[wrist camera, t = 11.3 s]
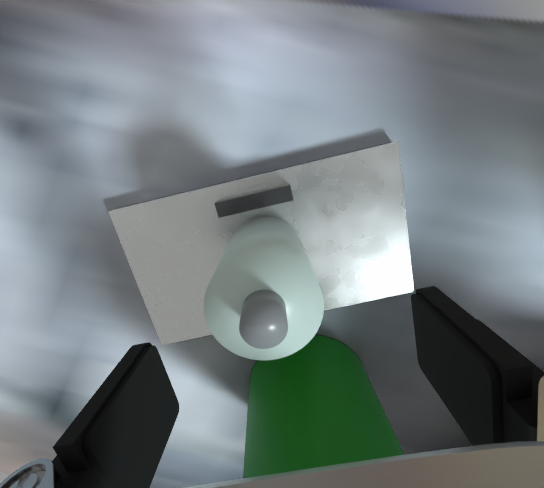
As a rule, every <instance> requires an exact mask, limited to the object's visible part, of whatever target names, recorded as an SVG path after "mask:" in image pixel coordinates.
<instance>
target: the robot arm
mask: <svg viewBox="0 0 544 488" xmlns="http://www.w3.org/2000/svg"><path fill="white" fill-rule="evenodd" d="M411 302H412V311H413V320H414V329H415V338H416V347H417V356H418V362H419V365H420V368H421V370H422V371H423V373H424V374H425V376H426V377H427V379H428V380H429V382H430V383H431V385H432V386H433V388H434V389H435V391H436V392H437V393H438V395H439V396H440V398H441V399H442V401H443V402H444V404H445V405H446V407H447V408H448V410H449V411H450V413H451V414H452V416H453V417H454V418H455V420H456V421H457V423H458V424H459V426H460V427H461V429H462V430H463V432H464V433H465V435H466V436H467V438H468V439H469V441H470V442H471V443H472V445H473V446H467V447H459V448H451V449H443V450H436V451H428V452H420V453H412V454H406V455H399V456H392V457H385V458H378V459H371V460H364V461H357V462H351V463H344V464H337V465H330V466H323V467H316V468H310V469H303V470H296V471H290V472H283V473H277V474H270V475H263V476H257V477H250V478H244V479H237V480H231V481H224V482H218V483H211V484H205V485H198V486H192V487H186V488H544V372H543V371H542V370H541V369H539V368H538V367H537V366H536V365H534V364H533V363H532V362H531V361H529V360H528V359H527V358H526V357H524V356H523V355H522V354H521V353H519V352H518V351H517V350H516V349H514V348H513V347H512V346H511V345H509V344H508V343H507V342H506V341H504V340H503V339H502V338H501V337H500V336H498V335H497V334H496V333H495V332H493V331H492V330H491V329H490V328H488V327H487V326H486V325H485V324H483V323H482V322H481V321H479V320H477V319H475V318H474V317H472V316H471V315H470V314H469V313H467V312H466V311H465V310H464V309H463V308H461V307H460V306H459V305H458V304H456V303H455V302H454V301H453V300H451V299H450V298H449V297H448V296H446V295H445V294H444V293H443V292H442V291H440V290H439V289H438V288H437V287H435V286H431V287H426V288H421V289H417V290H416V294H413V295H411ZM178 413H179V403H178V400H177V397H176V395H175V392H174V390H173V387H172V385H171V382H170V380H169V377H168V375H167V372H166V370H165V367H164V365H163V362H162V360H161V357H160V355H159V352H158V350H157V348H156V346H154V345H153V346H152V345H151V344H150V343H143V344H138V345H134V346H132V347H131V348H130V349H129V350H128V352H127V353H126V354H125V355H124V357H123V358H122V359H121V361H120V362H119V363H118V364H117V366H116V367H115V368H114V370H113V371H112V372H111V373H110V375H109V376H108V377H107V379H106V380H105V381H104V382H103V384H102V385H101V386H100V388H99V389H98V390H97V391H96V393H95V394H94V395H93V396H92V398H91V399H90V400H89V402H88V403H87V404H86V405H85V407H84V408H83V409H82V411H81V412H80V413H79V414H78V416H77V417H76V418H75V420H74V421H73V422H72V423H71V425H70V426H69V427H68V429H67V430H66V431H65V432H64V434H63V435H62V436H61V437H60V439H59V440H58V441H57V443H56V444H55V445H54V446H53V448H54V450H55V452H56V454H57V456H56V457H55V458H54V460H53V461H52V460H50V459H48V458H41V459H37V460H34V461H31V462H29V463H28V464H26V465H24V466H22V467H20V468H19V469H18V470H16V471H15V472H13V473H12V474H10V475H9V476H8V477H7V478H6V479H5V480H4V481H3V482H1V483H0V488H149V487H150V485H151V482H152V479H153V477H154V474H155V472H156V469H157V467H158V464H159V462H160V459H161V456H162V454H163V451H164V449H165V446H166V444H167V441H168V439H169V436H170V433H171V431H172V428H173V426H174V423H175V421H176V418H177V416H178Z"/></svg>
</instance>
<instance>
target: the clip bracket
mask: <svg viewBox="0 0 544 488" xmlns="http://www.w3.org/2000/svg"><path fill="white" fill-rule="evenodd" d="M108 213H109V215H110V218H111V220H112V223H113V225H114V228H115V230H116V233H117V235H118V238H119V240H120V243H121V245H122V248H123V250H124V253H125V255H126V258H127V260H128V263H129V265H130V268H131V270H132V273H133V275H134V278H135V280H136V283H137V285H138V288H139V290H140V293H141V295H142V298H143V300H144V303H145V305H146V308H147V310H148V313H149V315H150V318H151V320H152V323H153V325H154V328H155V330H156V333H157V335H158V338H159V340H160V343H161V345H166V344H170V343H175V342H180V341H184V340H189V339H194V338H199V337H203V336H208V335H212V333H211V331H210V330H209V328H208V325H207V323H206V320H205V316H204V297H205V293H206V290H207V287H208V285H209V283H210V281H211V279H212V276H213V274H214V272H215V270H216V268H217V266H218V264H219V261H220V259H221V257H222V255H223V253H224V251H225V249H226V246H227V244H228V242H229V240H230V238H231V236H232V234H233V233H234V231H235V230H236V229H237V228H238V227H239V226H240V225H241V224H243V223H244V222H246V221H248V220H250V219H253V218H257V217H274V218H278V219H280V220H283V221H284V222H286V223H288V224H289V225H290V226H291V227H293V228H294V230H295V231H296V232H297V233H298V235H299V237H300V239H301V241H302V244H303V246H304V249H305V251H306V254H307V256H308V258H309V261H310V263H311V266H312V268H313V271H314V273H315V276H316V278H317V281H318V283H319V286H320V288H321V291H322V294H323V299H324V311H325V310H330V309H335V308H339V307H344V306H349V305H354V304H358V303H363V302H368V301H372V300H377V299H382V298H386V297H391V296H396V295H401V294H405V293H410V292H414V286H413V276H412V267H411V257H410V247H409V238H408V228H407V218H406V209H405V199H404V189H403V180H402V170H401V161H400V151H399V141H397V142H391V143H386V144H382V145H378V146H374V147H370V148H366V149H362V150H357V151H353V152H349V153H345V154H341V155H337V156H333V157H328V158H324V159H320V160H316V161H312V162H308V163H304V164H300V165H295V166H291V167H287V168H283V169H279V170H275V171H271V172H266V173H262V174H258V175H254V176H250V177H246V178H242V179H237V180H233V181H229V182H225V183H221V184H217V185H213V186H208V187H204V188H200V189H196V190H192V191H188V192H184V193H180V194H175V195H171V196H167V197H163V198H159V199H155V200H151V201H146V202H142V203H138V204H134V205H130V206H126V207H122V208H117V209H114V210H111V211H108Z"/></svg>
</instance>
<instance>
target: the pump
mask: <svg viewBox="0 0 544 488" xmlns="http://www.w3.org/2000/svg"><path fill="white" fill-rule="evenodd" d="M323 313H324V299H323V294H322V291H321V288H320V286H319V283H318V281H317V278H316V276H315V273H314V271H313V268H312V266H311V263H310V261H309V258H308V256H307V254H306V251H305V249H304V246H303V244H302V241H301V239H300V237H299V235H298V233H297V232H296V231H295V230H294V228H293V227H291V226H290V225H289V224H288V223H286V222H284V221H283V220H280V219H278V218H274V217H257V218H253V219H250V220H248V221H246V222H244V223H243V224H241V225H240V226H239V227H238V228H237V229H236V230H235V231H234V233H233V234H232V236H231V238H230V240H229V242H228V244H227V246H226V249H225V251H224V253H223V255H222V257H221V259H220V261H219V264H218V266H217V268H216V270H215V272H214V274H213V276H212V279H211V281H210V283H209V285H208V287H207V290H206V293H205V297H204V316H205V320H206V323H207V325H208V328H209V330H210V331H211V333H212V335H213V336H214V337H215V339H216V340H217V341H218V342H219V343H220V344H221V345H222V346H223V347H225V348H226V349H227V350H229V351H231V352H232V353H234V354H236V355H239V356H241V357H244V358H248V359H253V360H275V359H280V358H283V357H286V356H289V355H291V354H293V353H295V352H297V351H299V350H300V349H302V348H303V347H304V346H305V345H306V344H308V343H309V342H310V341H311V339H312V338H313V337H314V336H315V334H316V333H317V331H318V329H319V327H320V325H321V322H322V319H323Z"/></svg>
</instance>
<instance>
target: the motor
mask: <svg viewBox="0 0 544 488" xmlns="http://www.w3.org/2000/svg"><path fill="white" fill-rule="evenodd" d="M399 455H404V453H403V450H402V448H401V446H400V444H399V442H398V440H397V438H396V436H395V433H394V431H393V429H392V427H391V425H390V423H389V421H388V418H387V416H386V414H385V412H384V410H383V408H382V406H381V404H380V401H379V399H378V397H377V395H376V393H375V391H374V389H373V387H372V384H371V382H370V380H369V378H368V376H367V374H366V372H365V370H364V367H363V365H362V363H361V361H360V359H359V358H358V356H357V355H356V354H355V353H354V352H353V351H352V350H351V349H350V348H349V347H348V346H346V345H345V344H343V343H342V342H340V341H338V340H335V339H333V338H329V337H326V336H320V335H315V336H314V337H313V338H312V339H311V341H310V342H309V343H308V344H306V345H305V346H304V347H303V348H302V349H300V350H299V351H297V352H295V353H293V354H291V355H289V356H286V357H283V358H280V359H275V360H257V362H256V364H255V365H254V367H253V369H252V372H251V376H250V382H249V396H248V412H247V427H246V442H245V458H244V473H243V479H244V478H250V477H257V476H263V475H270V474H277V473H283V472H290V471H296V470H303V469H310V468H316V467H323V466H330V465H337V464H344V463H351V462H357V461H364V460H371V459H378V458H385V457H392V456H399Z"/></svg>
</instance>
